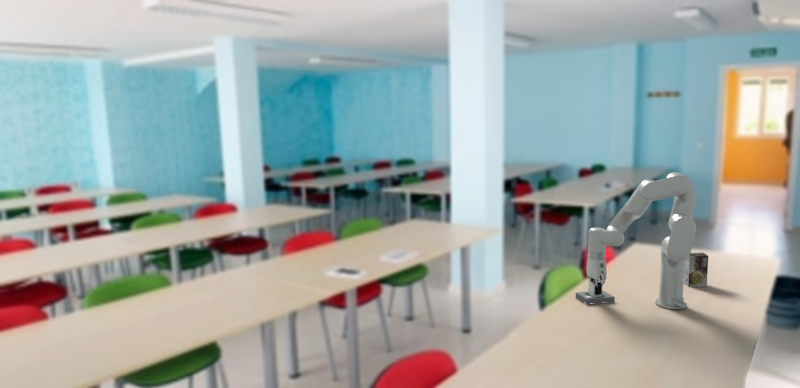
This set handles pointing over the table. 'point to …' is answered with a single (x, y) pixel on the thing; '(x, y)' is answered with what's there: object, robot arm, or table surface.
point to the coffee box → (696, 270)
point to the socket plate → (589, 299)
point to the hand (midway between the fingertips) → (595, 292)
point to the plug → (592, 289)
